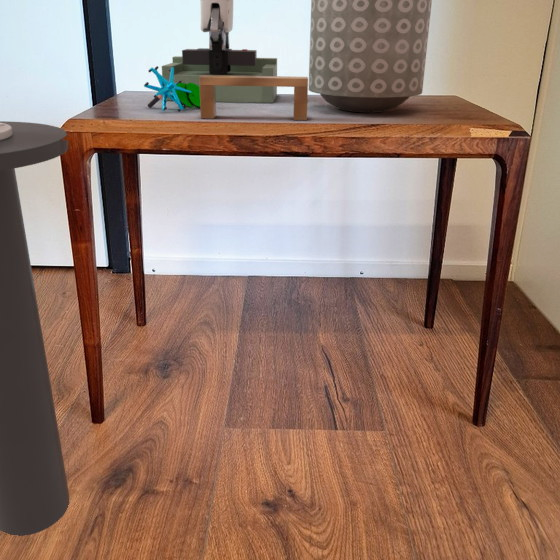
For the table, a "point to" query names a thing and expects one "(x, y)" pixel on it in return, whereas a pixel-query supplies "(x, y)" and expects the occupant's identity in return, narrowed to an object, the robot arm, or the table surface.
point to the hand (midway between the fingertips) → (220, 72)
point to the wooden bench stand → (276, 81)
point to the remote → (233, 57)
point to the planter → (368, 52)
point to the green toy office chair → (174, 92)
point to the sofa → (228, 92)
